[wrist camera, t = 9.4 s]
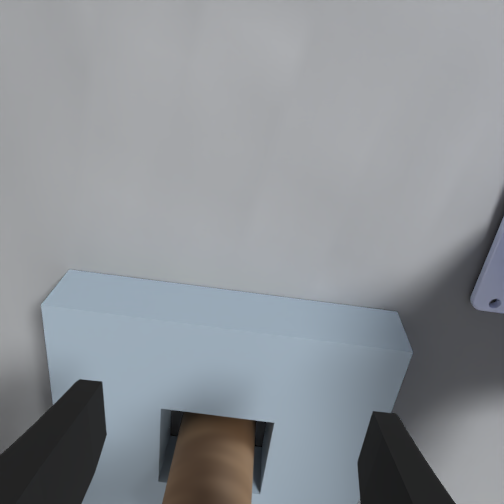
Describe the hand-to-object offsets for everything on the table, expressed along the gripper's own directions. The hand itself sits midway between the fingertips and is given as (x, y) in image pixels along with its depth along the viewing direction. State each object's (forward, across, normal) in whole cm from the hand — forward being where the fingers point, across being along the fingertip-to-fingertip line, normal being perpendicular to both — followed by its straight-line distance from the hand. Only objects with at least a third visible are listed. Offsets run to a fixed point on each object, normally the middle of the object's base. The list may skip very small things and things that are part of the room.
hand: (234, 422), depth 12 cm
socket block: (+10, +1, +10) cm, 14 cm away
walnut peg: (+10, +1, +10) cm, 14 cm away
